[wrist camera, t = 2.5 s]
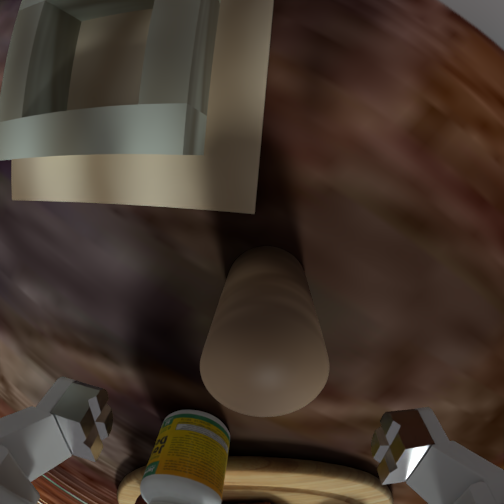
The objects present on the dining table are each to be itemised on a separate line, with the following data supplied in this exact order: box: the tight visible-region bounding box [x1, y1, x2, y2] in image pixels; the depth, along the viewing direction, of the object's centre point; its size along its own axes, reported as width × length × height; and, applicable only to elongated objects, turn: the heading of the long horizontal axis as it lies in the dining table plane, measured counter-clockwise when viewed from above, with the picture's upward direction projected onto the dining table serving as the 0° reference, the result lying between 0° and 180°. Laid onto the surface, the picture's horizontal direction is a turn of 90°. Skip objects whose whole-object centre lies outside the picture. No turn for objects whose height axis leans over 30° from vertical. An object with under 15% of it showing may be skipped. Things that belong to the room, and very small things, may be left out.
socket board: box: [0, 0, 274, 214], centre depth 12 cm, size 16×16×5 cm
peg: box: [200, 246, 329, 417], centre depth 14 cm, size 4×4×8 cm
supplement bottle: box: [140, 409, 230, 504], centre depth 17 cm, size 5×5×10 cm
